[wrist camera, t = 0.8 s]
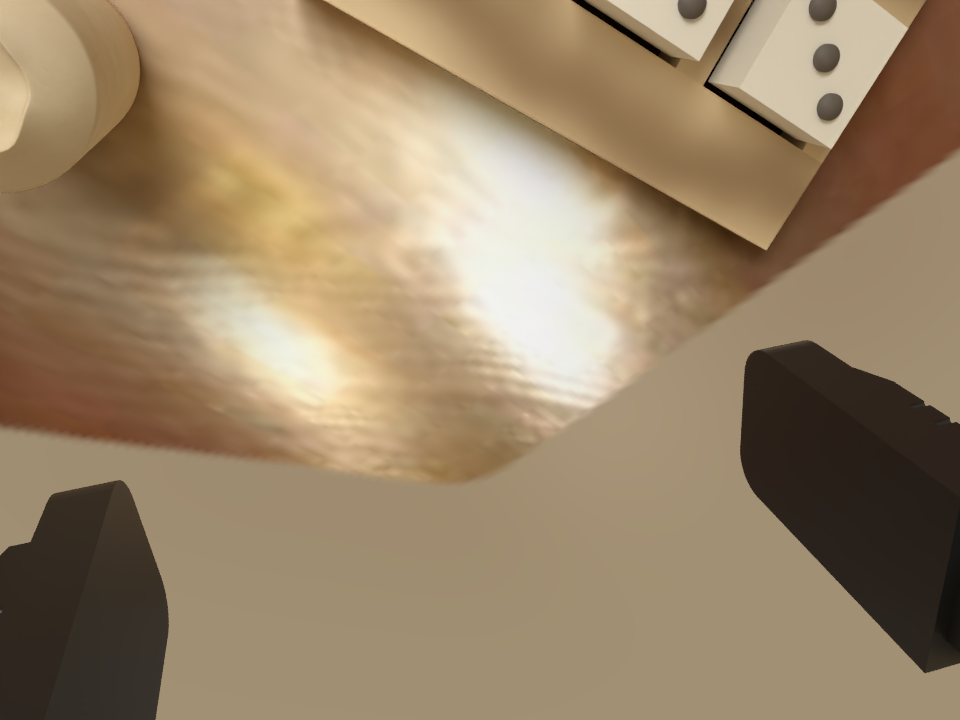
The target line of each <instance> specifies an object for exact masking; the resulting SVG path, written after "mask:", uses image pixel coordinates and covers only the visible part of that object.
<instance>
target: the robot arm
mask: <svg viewBox="0 0 960 720" xmlns="http://www.w3.org/2000/svg"><path fill="white" fill-rule="evenodd" d="M744 375H745V376H744V393H743V410H742V427H741V445H740V455H741V462H742V467H743V470H744V474H745V477H746V479H747V481H748V483H749V485H750V487H751V489H752V490H753V492H754V493H755V494H756V496H757V497H758V498H759V499H760V500H761V501H762V502H763V503H764V504H765V505H766V506H767V507H768V508H769V509H770V511H771V512H772V513H773V514H774V515H775V516H776V517H777V518H778V519H779V520H780V521H781V522H782V523H783V524H784V525H785V526H786V527H787V528H788V529H789V531H790V532H791V533H792V534H793V535H794V536H795V537H796V538H797V539H798V540H799V541H800V542H801V543H802V544H803V545H804V546H805V547H806V548H807V550H808V551H809V552H810V553H811V554H812V555H813V556H814V557H815V558H816V559H817V560H818V561H819V562H820V563H821V564H822V565H823V566H824V567H825V568H826V570H827V571H828V572H829V573H830V574H831V575H832V576H833V577H834V578H835V579H836V580H837V581H838V582H839V583H840V584H841V585H842V586H843V587H844V589H845V590H846V591H847V592H848V593H849V594H850V595H851V596H852V597H853V598H854V599H855V600H856V601H857V602H858V603H859V604H860V605H861V606H862V607H863V608H864V610H865V611H866V612H867V613H868V614H869V615H870V616H871V617H872V618H873V619H874V620H875V621H876V622H877V623H878V624H879V625H880V626H881V628H882V629H883V630H884V631H885V632H886V633H887V634H888V635H889V636H890V637H891V638H892V639H893V640H894V641H895V642H896V643H897V644H898V645H899V646H900V647H901V649H903V651H904V652H905V653H906V654H907V655H908V656H909V657H910V658H911V659H912V660H913V661H914V662H915V663H916V664H917V665H918V666H919V668H920V669H921V670H922V671H923V672H924V673H927V672H931V671H934V670H938V669H941V668H944V667H948V666H951V665H955V664H958V663H960V424H959V423H957V422H955V423H951V422H950V418H949V417H948V416H946V415H944V414H943V413H942V412H940V411H938V410H937V409H935V408H934V407H932V406H930V405H929V406H925V404H924V401H923V400H921V399H920V398H918V397H917V396H915V395H913V394H912V393H910V392H909V391H907V390H906V389H904V388H902V387H901V386H900V385H898V384H896V383H895V382H893V381H890V380H888V379H885V378H882V377H879V376H876V375H873V374H870V373H868V372H864V371H862V370H859V369H856V368H852V367H851V366H849V365H848V364H846V363H845V362H843V361H842V360H840V359H839V358H837V357H836V356H834V355H833V354H831V353H830V352H828V351H827V350H825V349H824V348H822V347H821V346H819V345H818V344H816V343H814V342H812V341H808V340H807V341H801V342H795V343H790V344H785V345H780V346H776V347H771V348H766V349H761V350H757V351H754V352H753V353H751V354H750V356H749V357H748V359H747V361H746V365H745V374H744ZM168 623H169V620H168V606H167V600H166V594H165V589H164V585H163V581H162V578H161V575H160V573H159V570H158V568H157V564H156V561H155V559H154V556H153V553H152V550H151V548H150V545H149V542H148V539H147V536H146V533H145V531H144V528H143V525H142V522H141V520H140V517H139V514H138V511H137V508H136V505H135V502H134V500H133V497H132V494H131V492H130V490H129V488H128V487H127V485H126V484H125V483H124V482H123V481H121V480H118V481H113V482H108V483H103V484H98V485H93V486H89V487H84V488H79V489H74V490H70V491H64V492H59V493H55V494H53V495H51V497H50V498H49V500H48V502H47V504H46V506H45V509H44V511H43V514H42V516H41V518H40V521H39V523H38V526H37V528H36V531H35V533H34V535H33V538H32V540H31V542H29V543H25V544H20V545H15V546H10V547H8V548H7V549H6V550H5V551H4V552H3V553H2V554H1V555H0V720H155V719H156V712H157V705H158V699H159V692H160V685H161V678H162V672H163V665H164V658H165V651H166V645H167V638H168V627H169V624H168Z"/></svg>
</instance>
